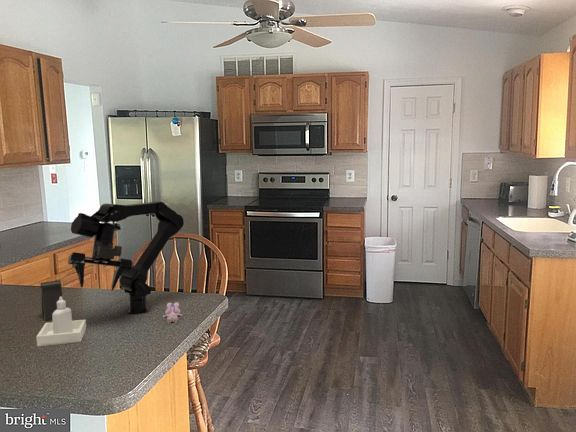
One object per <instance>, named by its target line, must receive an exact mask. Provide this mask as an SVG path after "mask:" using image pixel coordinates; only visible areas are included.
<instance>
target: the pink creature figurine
mask: <svg viewBox="0 0 576 432" xmlns="http://www.w3.org/2000/svg"><path fill="white" fill-rule="evenodd" d="M179 307H180V303H179V302H176V301H175V302H174V303H172V302H167V304H166V310H165V312H164V314H163V316H162V317H163V318H165V317H166V321H167V325H168V326H169V325H170V324H171V323H172V322H173V323H174V324H175V325H177V324H178V321H179V317H178V316H180V317H182V316H183V314H182V313H181V310H180V308H179Z"/></svg>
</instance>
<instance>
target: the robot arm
mask: <svg viewBox="0 0 576 432" xmlns="http://www.w3.org/2000/svg"><path fill="white" fill-rule="evenodd" d="M148 214H149V215H151V214H153V215H154V216H155V218H156V219H157V220H158V221H159V222H158V224H157V231H156V233H155V235H154V236H153V237H152V239H151V241H150V242H149V244H148V246H146V248H145V250H144V251H143V253H142V254H141V255H140V257H139V258H138V260H137V261H136V263H135V264H134V265H133V261H132V259H129V258H127V259H126V258H121V255H122V250H123V249H122V248H123V247H122V246H121V245H114V235H115V232H117V231H121V227H120V226H119V225H118V223H117V222H121V221H123V220H126V219H128V218H130V217H134V216H142V215H148ZM111 222H112V223H111ZM184 224H185V223H184V217H183V216H182V215H181V214H178V213H177V212H176V211H174V209H172V208H171V207H169V206H168V205H167V204H166V203H164V202H163V201H157V200H154V201H151V202H150V201H149V202H142V203H131V204H117V203H102V204H101V205H100V207H99V209H98V210H97V211H95V212H94V213H93V214H92V215H91V216H90V215H88V214H86V213H83V212H78V215H77V216H76V217H75V218H74V219H73V221H72V222H71V226H70V231H71V233H72V234H74V235H78V236H82V237H86V238H93V237H94V238H93V239H94V240H93V248H92V255H91V257H90V256H86V253H83V252H82V253H81V252H72V253H70V255H69V256H68V261H67V264H68V265H71V268H74V269H75V271H76V274H77V277H78V278H77V279H78V281H79V284H80V288H83V287H84V283H85V268H86V267H85V266H86V264H91V265H98V266H99V265H101V266H105V267H106V266H108V267H114V268H115V270H114V271H113V275H112V276H113V277H112V282H111V291H114V289H115V287H116V285H117V284H118V281H119V285H120V288H121V289H123V291H124V293H126V294H128V295H129V296H128V297H129V298H128V299H129V308H128V311H127V313H128V314H140V313H141V314H143V313H148V312H149V305H147V304H148V303H147V302H148V301H147V296H148V295H150V294H151V292H152V287H151V286H150V285H148V284H147V280H148V274H149V271H150V269H151V267H152V265H154V262H156V260H157V258H158V257H159V255H160V253H161V252H162V250H163V248H164V247H165V246H166V244H167V243H168V240H170V238H172V237H173V236H175V235H176V234H178V232H180V231H181V229H182V228H183V226H184ZM115 257H120V258H119V259H118V260H115Z"/></svg>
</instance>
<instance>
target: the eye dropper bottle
mask: <svg viewBox="0 0 576 432" xmlns="http://www.w3.org/2000/svg"><path fill="white" fill-rule="evenodd" d="M62 297H63V296H62ZM62 297H59V301H57V310H55V311H54V312H53V314H52V320H51V321H52V322H53V334H60V333H70V332H73V327H72V321H73V315H72V309H71V308H70V307H67V305H66V303H67V302H66V300H64V299H63V298H62Z"/></svg>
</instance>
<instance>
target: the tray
mask: <svg viewBox="0 0 576 432" xmlns="http://www.w3.org/2000/svg"><path fill="white" fill-rule="evenodd" d="M72 327H73V332H70V333H60V334H53V321H51V322H45V323H44V325H43V326H42V327H41V329H40V330H39V332H38V333H37V335H36V347H45V346H46V347H47V346H56V345H59V346H60V345H66V344H76V343H77V344H78V343H81V342H82V340H83V339H84V338H83V337H84V335H85V333H86V330H87V319H76V320H72Z"/></svg>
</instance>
